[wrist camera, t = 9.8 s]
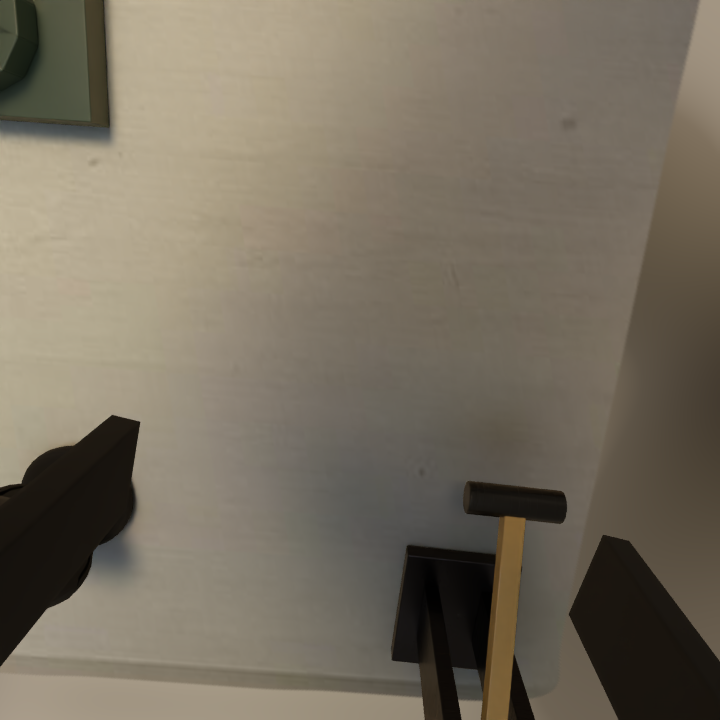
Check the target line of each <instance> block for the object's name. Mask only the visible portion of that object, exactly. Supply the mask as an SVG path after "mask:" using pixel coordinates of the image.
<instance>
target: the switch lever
mask: <svg viewBox="0 0 720 720" xmlns="http://www.w3.org/2000/svg"><path fill="white" fill-rule="evenodd" d="M463 506H464V511H465V513H466V514H474V515H483V516H492V517H500V518H499V529H498V539H497V550H496V561H495V572H494V583H493V594H492V605H491V616H490V627H489V637H488V648H487V659H486V670H485V681H484V692H483V703H482V714H481V720H508V712H509V701H510V689H511V678H512V667H513V656H514V644H515V633H516V622H517V610H518V599H519V588H520V577H521V565H522V554H523V543H524V531H525V520H529V521H538V522H547V523H557V524H561V523H563V522H564V520H565V517H566V512H567V502H566V497H565V495H564V493H563V492H562V491H557V490H548V489H538V488H529V487H520V486H511V485H502V484H493V483H483V482H474V481H467V483H466V485H465V488H464V495H463Z"/></svg>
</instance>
